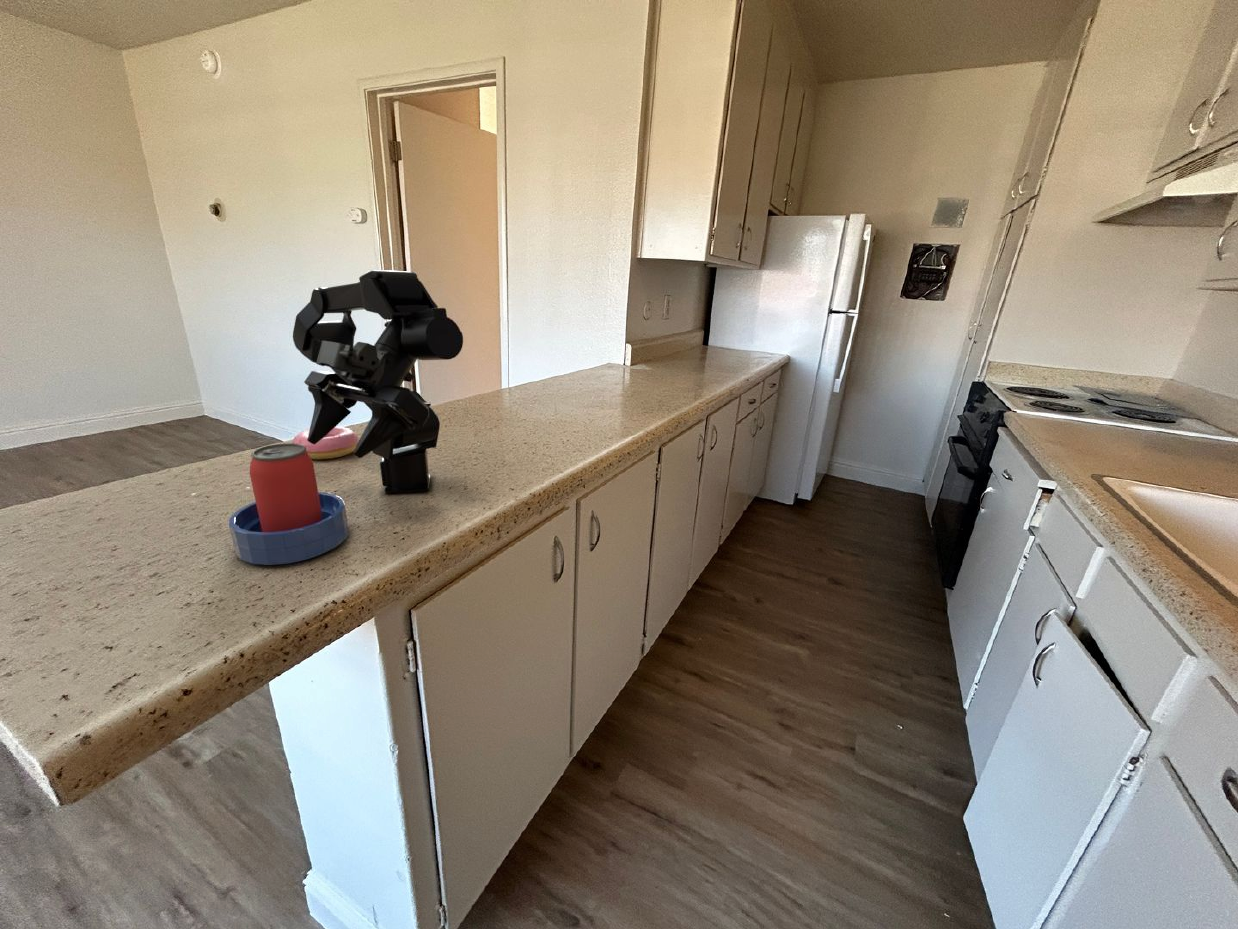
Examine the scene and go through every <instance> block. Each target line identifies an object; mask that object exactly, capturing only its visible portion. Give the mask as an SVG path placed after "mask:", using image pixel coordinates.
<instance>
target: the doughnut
mask: <svg viewBox="0 0 1238 929" xmlns="http://www.w3.org/2000/svg"><path fill="white" fill-rule="evenodd" d="M309 430H310V428H309V429H306V430H302V431H301V432H299V433H298V434H297V435H296V436H294V438H293V440H292V443H293V444H300V445H303V446H304V447H306V451H307V453H308V454H309V456H310V457H311V459H312V460H330V459H337V458H340V457H344V456H346V455H347V456H348V455H349V454H351V453H353V452H354V450H355V448H356V445H357V443H358V441H359V440H360V438H359V437H358V434H357V433H356V432H355V430H353V429H350V428H349V427H344V426H343V427H342V426H336V427H335V428H333V429H332V430H331V431H330V432H329V433H328V434H327V435H326V436H325V437H324V438H322V439H321V440H320V441H319V442H317V443H316V444H312V443H310V442H308V440H307V439H308V435H309Z"/></svg>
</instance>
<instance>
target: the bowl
mask: <svg viewBox="0 0 1238 929" xmlns="http://www.w3.org/2000/svg"><path fill="white" fill-rule="evenodd" d="M318 494H319V500H320V506H321V512H322V518H323V520H322V521H320V522H318V523H315V524H312V525H308V526H305V527H302V528H297V529H292V530H287V531H279V532H262V528H261V523H260V519H259V514H258V510H257V505H256V501H253V502H251V503H248V504H246V505H245V506H243V507H241V508H240V509H238V510H236V511H234V513H233V514H232V515H231V516H230V517H229V518H228V527H229V531H230V532H229V533H230V536H231V539H232V540H231V541H232V544H233V548H234V552H235V555H236V556H237V557H238V558H239V560H241V561H243V562H246V563H249V564H253V565H264V566H265V565H267V566H273V565H285V564H293V563H298V562H302V561H306V560H309V559H313V558H315V557H318V556H320V555H323V554H325V553H327V552H329V551H331V550H333V549H335V548H336V547H338V546H340V545H341V544H342V543H343V542H344V541H345V540H346V539H347V537H348V534H349V532H350V530H349V529H350V528H349V522H348V515H347V509H346V504H345V501H344V499H343V498H341V497H340V496H339V495H337V494H335V493H334V494H333V493H330V492H326V491H325V492H324V491H318Z"/></svg>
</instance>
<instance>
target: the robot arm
mask: <svg viewBox="0 0 1238 929" xmlns="http://www.w3.org/2000/svg"><path fill="white" fill-rule="evenodd" d="M358 280H359V281H358V282H354V283H348V284H340V285H335V286H329V287H325V286H324V287H323V286H322V287H321V286H319V287H318V288H314V289H312V291H311V296H310V301H309V302H308V303H306V305H305V306H304V307H303V308H302V309H301V310H300V311H299V312H298V313H297V314H296V316H295V320H294V326H293V331H292V340H293V344H294V346H295V348H296V350H298V351H299V352H300V354H301V355H302V356H304V357H305V358H306V359H308V360H309V361H310V362H311V363H313V364H316V365H318V366H320V367H328V368H330V369H331V370H332V371H326V370H322V369H319V370H312V371H310V373H309V374H308V375H307V377H306V378H305V380H304V381H303V383H304V384H305V385H306V386H307V390H308V392H309V393H311V395H312V397H313V402H314V409H313V413H312V417H311V421H310V426H309V429H310V430H309V429H308V430H309V435H308V439H307V440H308V442H310V443H312V444H316V443H317V442H319V441H320V440H321V439H322V438H324V437H325V436H326V435H327V434H328V433H329V432H330V431H331V430H332V429H333V428H335V427H338V425H339V424H340V423H341V422H342V421H343V420H345V419H346V418H347V417H348V416H349V415H350V414H351V413H352V411H351V410H350V409H351V408H352V407H354V406H356V404H357V403H358V402H359V403H364V404H365V406H366V407H368V408H369V410H370V411H371V417H370V420H369V421H368V423H367V425H366V427H365V428H364V430H363V432H362V434H361V436H360V437H359V441H358V443H357V445H356V448H355V450H354V451H353V452H352V454H353V456H355V457H356V458H358V459H361V458H363V457H365V456H366V455H368V454H369V453H371V452H372V454H374V455H377V456H378V457H381V460H380V462H379V466H380V475H381V476H380V477H381V483H382V486H383V487H385V488H384V494H388V495H390V494H405V493H406V494H408V493H421V492H422V493H425V492H428V491H429V489H430V483H431V477H432V476H431V474H430V473H429V461H428V450H429V449H434V448H437V444H438V439H439V433H440V427H441V423H440V419H439V417H438V415H437V414H436V412H435V411H434V409H433V408H432V407H431V405H432V404H431V402H428V401H426V400H425V399H424V398H423V397H422V395H421V394H420V393H419V392H417V391H416V390H411V389H410V388H408V387H404V386H402V385H403V383H404V382H408V383H412V381H413V379H414V378H415V376H414V375H413V374H412V373H411V370H412V368H413V367H414V366H415V364H416V362H417V361H418V360H419V361H446V360H447V361H448V360H452V359H454V358H456V357H457V356H458V355H459V354H460V353H461V351H462V349H463V346H464V335H463V332H462V331H461V328H460V327H459V325H458V324H457V323H456V321H454V320H453V319H452V318H450V317H449V316H448V315H447V314H448V313H447V309H446V308H445V307H439V306H438V305H437V303H436V302H435V301H434V300H433V298H432V296H431V295H430V293H429V292H428V290H427V289H426V287H425V285H424V283H422V281H421V280H420V279H419V278H418V274H417V273H416V272H414V271H405V270H404V271H402V270H380V269H379V270H376V269H371V270H369V271H367V272H366V273H363V274H362V275H360V276H359V277H358ZM361 310H365V311H366V312H370V313H373V314H378V315H379V316H380V317H381V318H382V319H383V320H387V321H386V322H385V323H384V327H385V328H384V330H383V331H382V333H381V334H380V336H379V337H378V338H377V340H376V342H374V344H370V343H368V342H363V341H357V342H356V343H355V336H356V332H357V326H356V323H355V322H354V319H353V318H352V312H353V311H361ZM325 314H343V317H342V321H341V320H329V321H321V320H322V319H324V316H325Z"/></svg>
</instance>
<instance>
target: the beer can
mask: <svg viewBox="0 0 1238 929" xmlns="http://www.w3.org/2000/svg"><path fill="white" fill-rule="evenodd" d="M250 456H251V457H252V458H251V461H250V465H249V477H250V482H251V487H252V491H253V496H254V500H255V502H256V505H257V510H258V514H259V519H260V523H261V528H262V532H279V531H287V530H292V529H297V528H302V527H305V526H308V525H312V524H315V523H318V522H320V521H322V520H323V518H322V512H321V506H320V500H319V494H318V492H319V489H318V483H317V477H316V472H315V471H316V470H315V465H314V462H313V459H311V457H310V456H309V454H308V453H307V451H306V447H304V446H303V445H300V444H293V442H291V443H290V442H287V443H276V444H275V443H273V444H269V445H265V446H262V447H258V448H256V449H254V450H253V451H252V452H251V454H250Z"/></svg>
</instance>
